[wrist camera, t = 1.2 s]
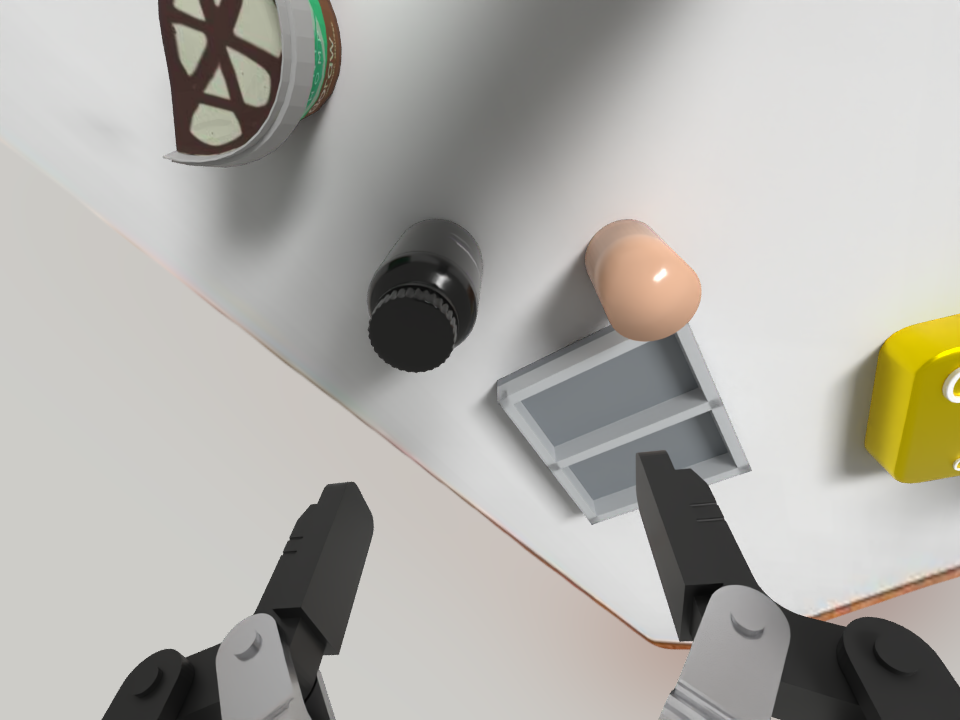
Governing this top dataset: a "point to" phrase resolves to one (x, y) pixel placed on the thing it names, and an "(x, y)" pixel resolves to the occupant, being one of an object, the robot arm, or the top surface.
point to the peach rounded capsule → (641, 281)
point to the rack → (621, 415)
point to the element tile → (918, 403)
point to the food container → (245, 73)
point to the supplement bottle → (425, 296)
